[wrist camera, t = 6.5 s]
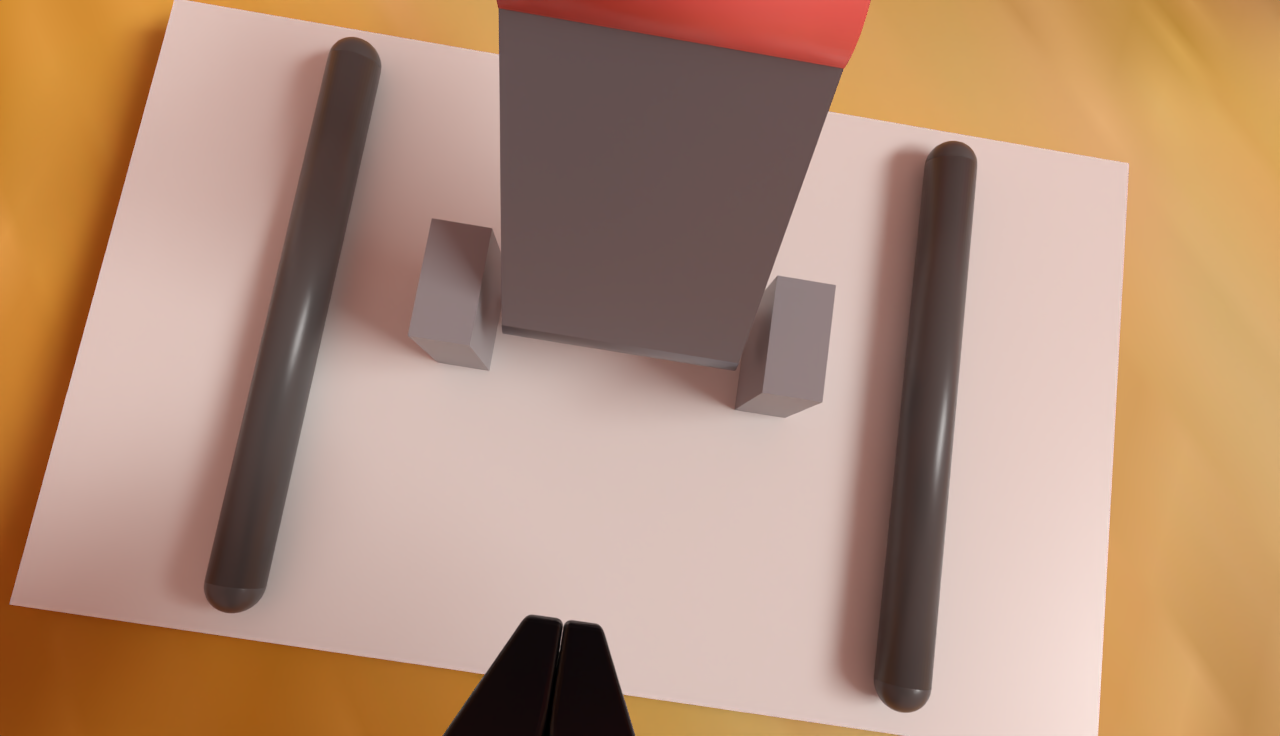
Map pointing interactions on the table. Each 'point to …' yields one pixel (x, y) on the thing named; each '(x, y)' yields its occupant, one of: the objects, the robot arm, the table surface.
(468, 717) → the robot arm
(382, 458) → the plate
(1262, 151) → the table surface
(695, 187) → the lever
